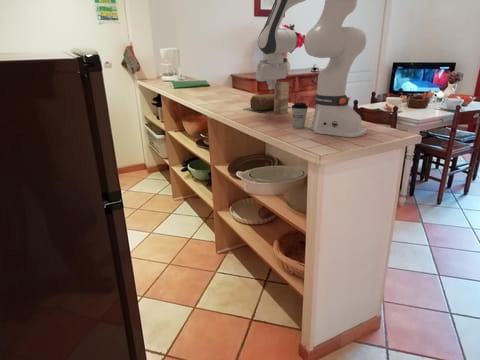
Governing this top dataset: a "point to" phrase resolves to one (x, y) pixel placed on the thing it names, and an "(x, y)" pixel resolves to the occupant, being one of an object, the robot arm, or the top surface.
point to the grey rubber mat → (260, 110)
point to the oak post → (281, 97)
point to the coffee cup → (299, 114)
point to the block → (262, 102)
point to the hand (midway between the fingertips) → (271, 89)
